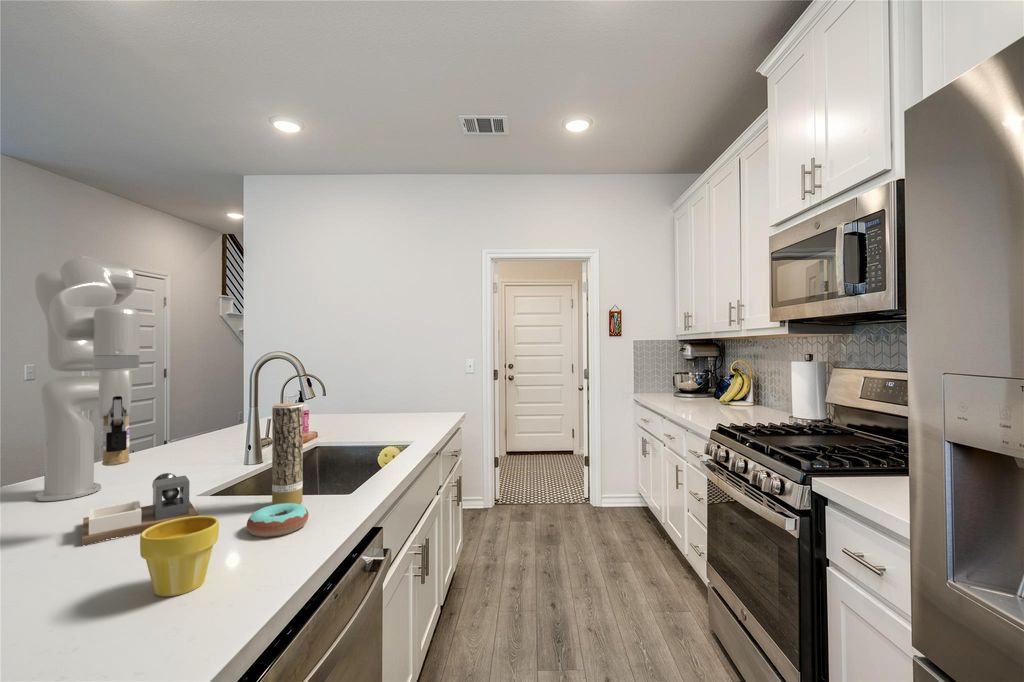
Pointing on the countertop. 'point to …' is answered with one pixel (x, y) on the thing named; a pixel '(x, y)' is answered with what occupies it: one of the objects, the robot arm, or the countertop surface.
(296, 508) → the donut
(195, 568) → the plant pot
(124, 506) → the socket
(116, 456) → the sprinkles bottle
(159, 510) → the bearing block
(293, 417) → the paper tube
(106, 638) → the countertop surface
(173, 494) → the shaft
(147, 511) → the walnut board
